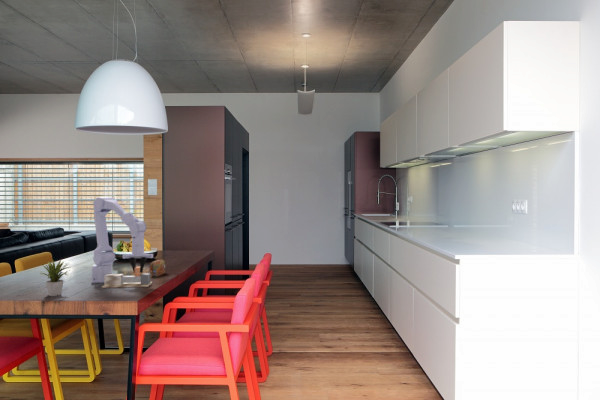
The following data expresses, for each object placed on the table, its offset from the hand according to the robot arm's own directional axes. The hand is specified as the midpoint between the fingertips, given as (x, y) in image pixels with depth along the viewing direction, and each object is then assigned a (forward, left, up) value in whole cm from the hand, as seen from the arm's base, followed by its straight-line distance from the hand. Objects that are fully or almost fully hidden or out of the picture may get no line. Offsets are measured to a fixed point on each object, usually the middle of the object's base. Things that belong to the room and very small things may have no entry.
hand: (138, 272), depth 237 cm
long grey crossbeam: (-3, 0, -5) cm, 6 cm away
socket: (+4, 0, -6) cm, 7 cm away
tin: (+4, +30, -6) cm, 31 cm away
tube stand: (-5, 0, -6) cm, 8 cm away
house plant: (-32, -21, -6) cm, 38 cm away
